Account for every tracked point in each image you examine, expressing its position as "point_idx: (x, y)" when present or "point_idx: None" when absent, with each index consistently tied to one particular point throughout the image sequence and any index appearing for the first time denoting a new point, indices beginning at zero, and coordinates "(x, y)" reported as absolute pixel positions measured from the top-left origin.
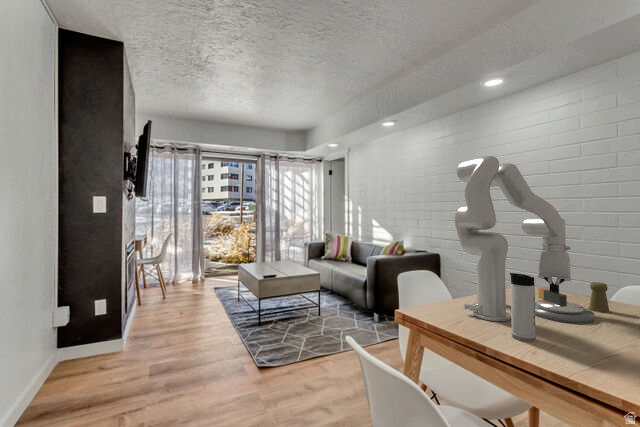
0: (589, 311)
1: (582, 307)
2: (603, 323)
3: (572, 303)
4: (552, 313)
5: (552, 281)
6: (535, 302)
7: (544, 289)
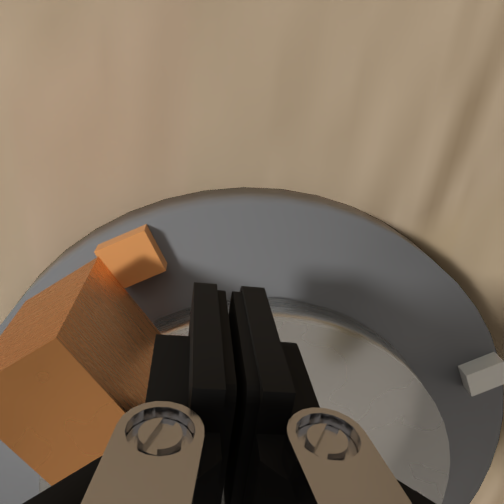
0: (483, 399)
1: (436, 497)
2: (490, 479)
3: (387, 392)
4: None
5: (198, 480)
6: (12, 312)
7: (69, 465)
